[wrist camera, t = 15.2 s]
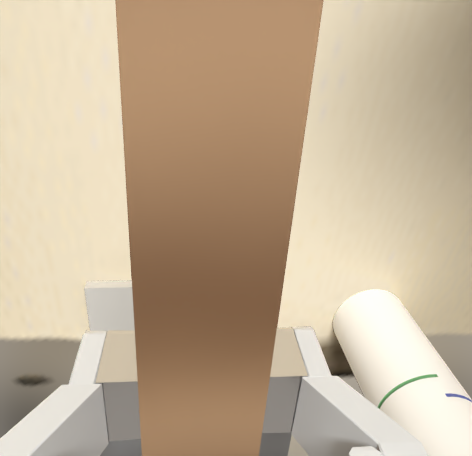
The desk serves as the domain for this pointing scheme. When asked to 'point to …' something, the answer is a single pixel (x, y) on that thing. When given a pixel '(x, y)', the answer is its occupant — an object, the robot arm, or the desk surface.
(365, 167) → the desk surface
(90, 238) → the desk surface
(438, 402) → the cylindrical container
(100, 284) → the glazed tile
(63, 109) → the desk surface
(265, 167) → the turner
